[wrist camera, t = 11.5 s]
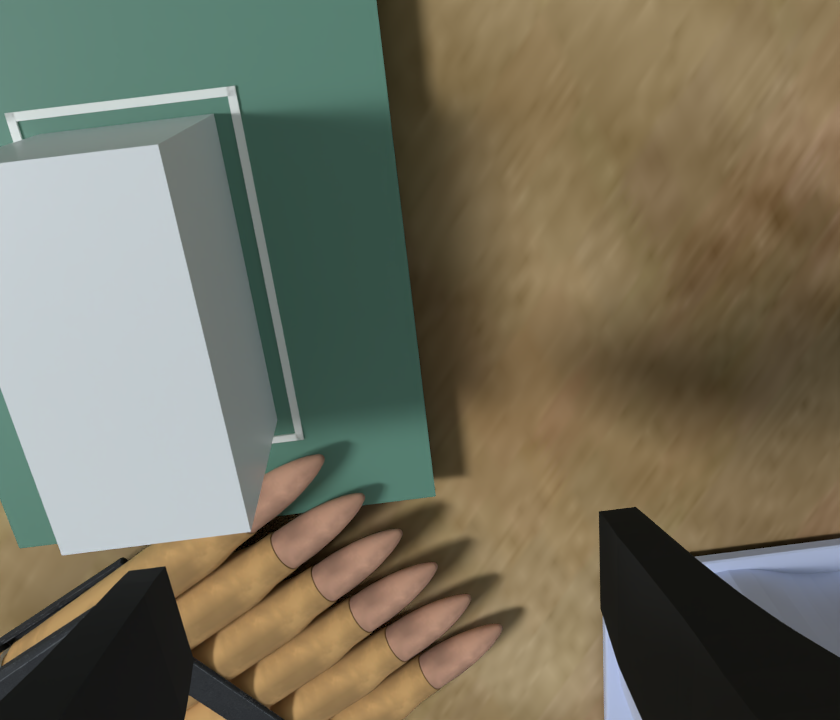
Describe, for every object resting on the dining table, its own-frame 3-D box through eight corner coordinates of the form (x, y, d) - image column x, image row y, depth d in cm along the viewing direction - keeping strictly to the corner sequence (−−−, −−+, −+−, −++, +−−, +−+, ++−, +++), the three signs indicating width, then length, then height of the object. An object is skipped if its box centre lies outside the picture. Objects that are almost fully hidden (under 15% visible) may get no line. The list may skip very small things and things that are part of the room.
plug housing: (214, 113, 17) (158, 144, 13) (277, 420, 21) (250, 531, 16) (39, 133, 17) (-79, 172, 13) (130, 438, 21) (61, 555, 16)
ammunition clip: (-30, 692, 21) (300, 454, 19) (-7, 640, 23) (299, 415, 21) (237, 841, 26) (525, 664, 24) (240, 789, 28) (510, 619, 26)
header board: (369, -48, 17) (369, -71, 13) (433, 477, 23) (446, 576, 19) (-162, 15, 17) (-331, 11, 13) (34, 527, 23) (-41, 638, 19)
